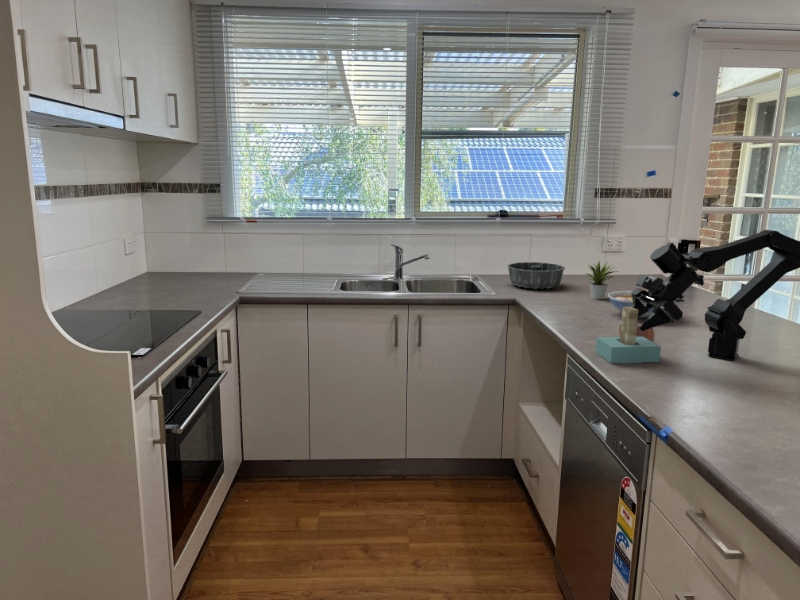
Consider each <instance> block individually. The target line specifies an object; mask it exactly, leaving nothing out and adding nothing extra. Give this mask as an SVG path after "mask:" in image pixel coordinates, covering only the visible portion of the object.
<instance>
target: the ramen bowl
mask: <svg viewBox="0 0 800 600" xmlns="http://www.w3.org/2000/svg"><path fill="white" fill-rule="evenodd" d="M632 291H633V290H619V291H618V290H616V291H612V292H608V294H607V295H608V298H609V301H610V302H611V304H612V305H613V307H614V308H615V309H616V310H618V311H619V312H621V313H622V312H623V307H631V306H632V304H633V300H632V297H631V296H632V294H631V292H632ZM649 295H650V294H649ZM650 296H651V295H650ZM675 302H676V303H685V299H679V298H677V299H676V300H675V301H674V303H675ZM653 308H654V307H653ZM653 308H651V309H648V310H649V311H648V312H647V313H645V314H643V315H641V316H639V317H638V319H647V318H648V317H649V316H650V315H651V314H652V313H653Z"/></svg>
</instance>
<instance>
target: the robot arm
mask: <svg viewBox="0 0 800 600" xmlns="http://www.w3.org/2000/svg"><path fill="white" fill-rule="evenodd" d="M766 248H768V249H769V250H771V251H772V255H771V259H770V261H769V262H768V263H767V264H766V265H765V266H764V267H763V268H762V269H761V270H760V271H759V272H758V273H757V274H756V275H754V276H753V277H752V278H751V279H750V280H749V281H747V283H746V284H745V285H744V286H742V287H741V288H740V289H739V290H738V291H737V292H736V293H735V294H734V295H733V296H731V297H730V298H729V299H726V300H724V299H721V298H718V299H716V300H715V302H714V303H713V304H711V305H710V306H708V307H707V308H706V309H707V311H706V312H705V313H704V323H705V324H706V325H707V326H708V331H709V332H711V333H712V334H711V337H710V338H709V341H708V346H707V347H708V348H707V353H708V354H707V357H709V358H710V357H711V358H716V359H722V360H726V361H727V360H728V361H736V359H738V357H739V355H740V354H739V346H740V340H743V339H744V338H745V336H746V334H747V331H746V330H745V329H744V328H743V326H742V325H740V324H741V322H742V321H743V319H744V316H745V312H747V309H748V308H750V307H751V306H752V305H753V304H754V303H755V302H756V301H757V300H759V299H760V298H761V296H763V295H764V294H765V293H766V292H767V291H768V290H769V289H771V288H772V286H774V285H775V284H776V283H777V282H778V281H779V280H781V279H782V278H783V277H784V276H785V275H786V274H788V273H790V272H792V271H796V270H798V269H800V240H798V239H795V238H792V237H790V236H787V235H784V234H783V233H781V232H780V231H777V230H772V229H763V230H761V231H760V232H757V233H754V234H752V235H749V236H746V237H743V238H739V239H736V240H733V241H730V242H727V243H725V244H722V245H715V246H705V247H698V248H694V249H692V250H691V251H689V252H688V253H682V252H681V251H680V250H679V249H678V248H677V245H675V243H673V242H671V241H670V242H669V241H668V243H666V244H665V245H662V246H660V247H658V248H656V249H655V250H653V252H652V253H651V255H649V259H650V260H651V261H652V262H653V263H654V264H655V265H656V266H657V268H658V269H659V270H660V271H661V272H662V274H664V275H665V274H670V275H668V277H667V278H665V279H662V278H661V277H659V276H653V277H654V278H649V277H650V276H648V275H647V276H646V275H643V274H639V276H638V279H637V281H636V283H635V286H637V288H634V290H631V291H632V292H631V294H632V296H631V297H632V300H633V304H632V306H631V307H633V308H635V309H637V310H638V317H639V316H641V315H643V314H645V313H647V312H648V311H649V310H648V309H651V308H653V307H654V308H653V313H652V314H651V315H650V316H649V317H648V318H646V319H645V321H644V322H643V323H642V324H641V325H640V326H641V327H640V329H641V330H642V331H644V330H647V329H650V328H652V329H654V328H655V327H656V328H657V327H658V326H662V325H665V324H669V323H674V322H676V323H677V322H679V321H680V320H681V319H682V318H683V314H684V313H683V310H682V309H681V308H680V307H679V306H678V305H677V304H676V303H675V302H676V301H675V300H676V299H681V300H683V299H684V297H685V296H684V295H683V294H684V293H685V292H686V291H688V290H689V289H690V288H691V287H692V285H694V284H695V285H697V286H704V284H705V282H704V277H705V275H703V274H699V273H697V271H701V272H704V273H711V272H714V271H715V270H717V269H719V268H721V267H722V266H724V265H725V264H726V263H727V262H729V261H731V260H733V259H734V260H735V259H736V258H739V257H742V256H745V255H748V254H751V253H754V252H757V251H760V250H762V249H766ZM695 270H697V271H695ZM638 287H640V288H638ZM643 288H645V289H647V291H645V290H644V289H643ZM649 294H650V295H651V296H650V295H649ZM674 301H675V302H674Z"/></svg>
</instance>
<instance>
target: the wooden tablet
mask: <svg viewBox="0 0 800 600" xmlns="http://www.w3.org/2000/svg"><path fill="white" fill-rule="evenodd" d="M640 327H641V325H637V331H636V337H645V338H646V339H648V340H650V341H652V342H654V335H653V333H654V332H653V328H650V329H647V330H644V331H642V330H641V329H640ZM618 330H619V337H620V336H621V324H620V325H619V329H618Z"/></svg>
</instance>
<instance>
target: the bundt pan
mask: <svg viewBox="0 0 800 600" xmlns="http://www.w3.org/2000/svg"><path fill="white" fill-rule="evenodd" d="M507 268H508V275H509V276H508V277H509V280H510V283H511V284H512V285H513V286H514V285H517V286H518V287H517V288H520V287H524V289H525V288H529V289H531V288H532V289H531V290H537V289H538V288H539V289H538V290H540V289H543V290H551V289H550V288H552V289H555V288H557V287H558V286H559V285H560V284H561V282H562V279H563V274H564V271H565V269H566V267H565V266H563V265H560V264H558V263H550V262H537V261H529V262H528V261H524V262H521V261H520V262H514V263H509V264H507ZM544 288H546V289H544Z"/></svg>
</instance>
